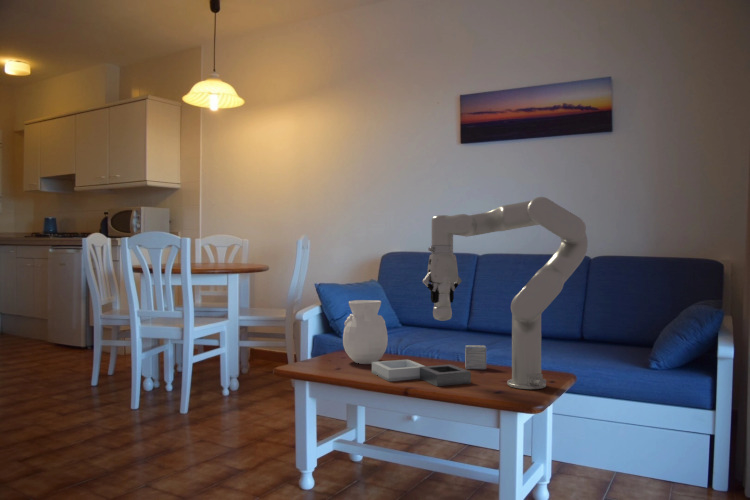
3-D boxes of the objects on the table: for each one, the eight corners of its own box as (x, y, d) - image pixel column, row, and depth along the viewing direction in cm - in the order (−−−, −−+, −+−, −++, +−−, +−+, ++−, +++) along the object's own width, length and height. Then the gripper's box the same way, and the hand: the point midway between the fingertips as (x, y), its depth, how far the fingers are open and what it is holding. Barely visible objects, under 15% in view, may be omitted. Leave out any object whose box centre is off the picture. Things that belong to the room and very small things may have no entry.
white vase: (342, 358, 246) (342, 299, 246) (385, 357, 247) (385, 299, 247) (343, 366, 227) (343, 303, 227) (390, 366, 229) (390, 302, 229)
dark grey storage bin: (470, 383, 198) (470, 371, 198) (437, 386, 193) (437, 374, 193) (450, 375, 211) (450, 364, 211) (418, 378, 206) (418, 366, 206)
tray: (427, 378, 206) (427, 366, 206) (388, 381, 201) (388, 369, 201) (408, 369, 221) (408, 359, 221) (371, 372, 216) (371, 362, 216)
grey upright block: (485, 367, 226) (485, 345, 226) (486, 369, 222) (486, 347, 222) (465, 367, 227) (464, 345, 227) (465, 369, 222) (465, 346, 222)
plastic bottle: (453, 321, 199) (453, 263, 200) (433, 321, 199) (433, 263, 200) (450, 319, 206) (451, 263, 206) (431, 319, 206) (432, 263, 206)
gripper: (425, 250, 196) (425, 304, 196) (469, 250, 203) (469, 302, 202) (415, 250, 203) (415, 302, 203) (458, 250, 209) (458, 301, 209)
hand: (442, 301), depth 203 cm, fingers closed on plastic bottle, 5 cm apart
